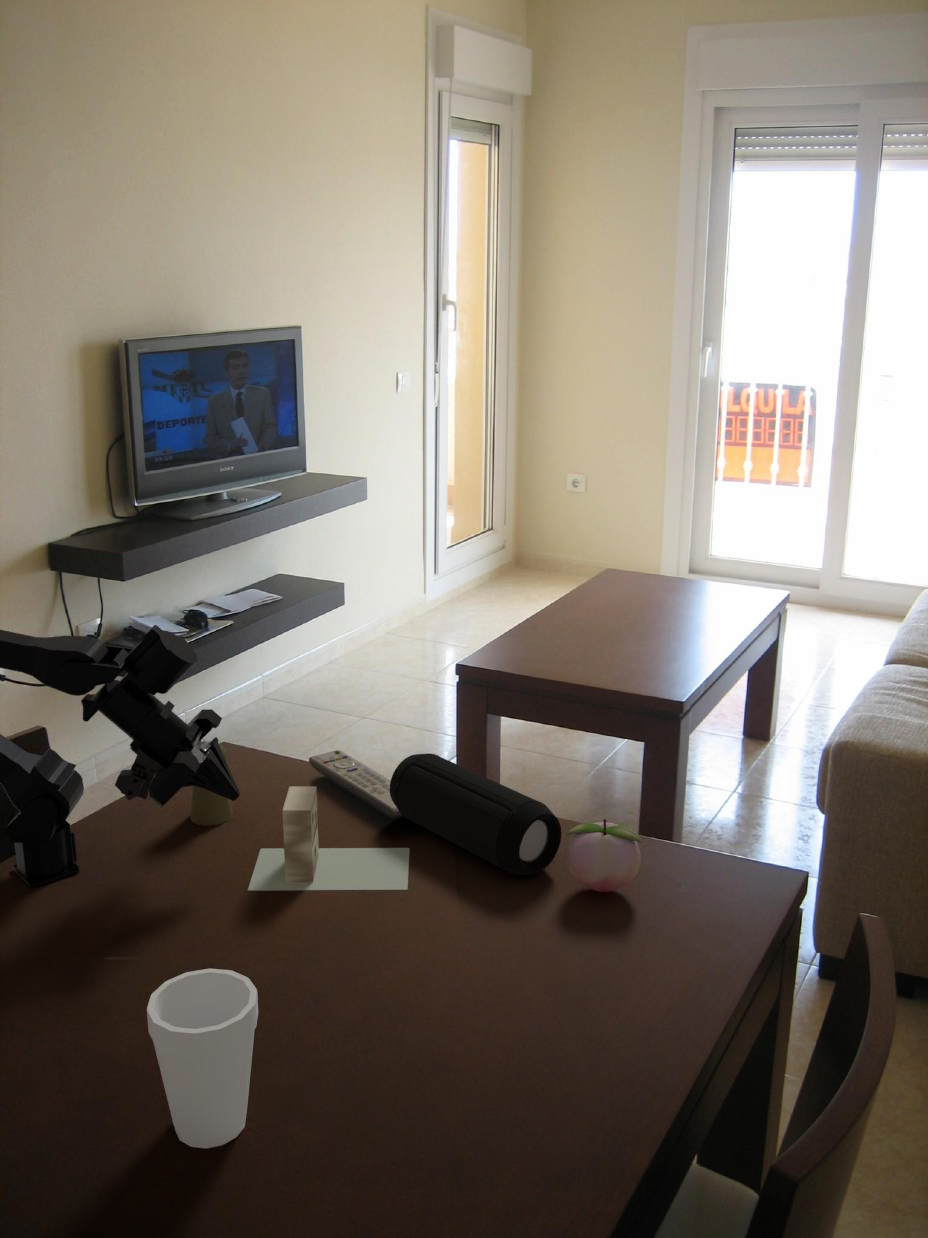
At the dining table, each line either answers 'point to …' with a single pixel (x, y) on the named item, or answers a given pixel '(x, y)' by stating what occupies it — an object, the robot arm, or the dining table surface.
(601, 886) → the decorative fruit
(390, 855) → the plate
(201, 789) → the cork
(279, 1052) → the dining table surface
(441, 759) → the portable speaker
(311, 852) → the domino
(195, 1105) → the foam cup
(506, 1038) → the dining table surface
